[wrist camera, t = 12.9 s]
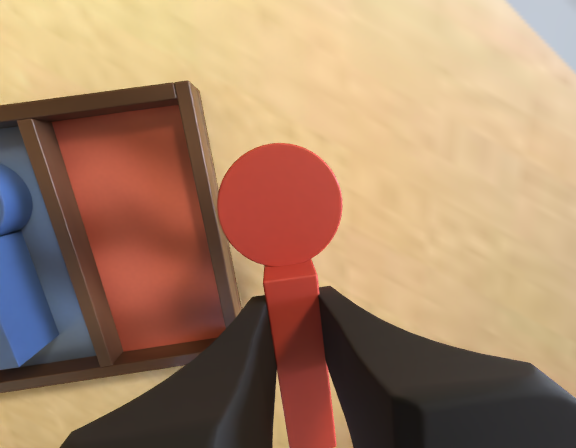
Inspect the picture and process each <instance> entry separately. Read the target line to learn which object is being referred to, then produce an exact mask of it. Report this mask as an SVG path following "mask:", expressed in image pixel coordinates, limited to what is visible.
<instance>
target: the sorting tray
mask: <svg viewBox="0 0 576 448" xmlns="http://www.w3.org/2000/svg"><path fill="white" fill-rule="evenodd" d="M0 164H3V165H5V166H7V167H8V168H10V169H12V170H13V171H14V172H16V173H17V174H18V175H19V176H20V177H21V178H22V179H23V181H24V182H25V183H26V185H27V187H28V188H29V191H30V193H31V196H32V202H33V209H32V214H31V217H30V219H29V221H28V222H27V224H26V225H25V226H24V227H23V228H21V229H20V230H18V231H22V234H23V237H24V240H25V242H26V245H27V248H28V250H29V253H30V256H31V259H32V261H33V264H34V267H35V269H36V272H37V275H38V277H39V280H40V283H41V286H42V288H43V291H44V294H45V296H46V299H47V302H48V305H49V307H50V310H51V313H52V315H53V318H54V321H55V324H56V326H57V329H58V332H59V335H58V336H57V337H56V338H55V339H53V340H52V341H51V342H50V343H48V344H47V345H46V346H45V347H43V348H42V349H41V350H40V351H38V352H37V353H36V354H35V355H34V356H32V357H31V358H30V359H29V360H27V361H26V362H25V363H24V364H22V365H21V366H20V367H16V368H10V369H3V370H0V393H5V392H11V391H18V390H24V389H31V388H38V387H44V386H51V385H57V384H64V383H70V382H77V381H84V380H90V379H97V378H103V377H110V376H117V375H123V374H130V373H136V372H143V371H150V370H156V369H163V368H169V367H176V366H183V365H187V364H188V363H189V362H191V361H192V360H193V359H194V358H196V357H197V356H198V355H199V354H200V353H201V352H203V351H204V350H205V349H206V348H207V347H208V346H209V345H210V344H212V343H213V342H214V341H215V340H216V339H217V338H218V337H219V336H220V334H221V333H222V332H223V331H224V330H225V329H226V328H227V327H228V326H229V325H230V324H231V323H232V321H233V320H234V319H235V318H236V317H237V315H238V314H239V313H240V312H241V310H242V309H241V304H240V299H239V294H238V289H237V283H236V278H235V273H234V268H233V263H232V258H231V252H230V247H229V242H228V239H227V238H226V236H225V234H224V232H223V230H222V227H221V225H220V221H219V218H218V210H217V199H218V193H219V190H218V185H217V180H216V175H215V169H214V164H213V159H212V154H211V149H210V143H209V138H208V133H207V128H206V123H205V117H204V112H203V107H202V102H201V97H200V92H199V90H198V89H197V88H196V87H195V86H194V85H193V84H192V83H190V82H189V81H181V82H175V83H165V84H158V85H150V86H143V87H135V88H128V89H120V90H113V91H105V92H97V93H90V94H82V95H75V96H67V97H60V98H52V99H45V100H37V101H30V102H22V103H15V104H7V105H0Z"/></svg>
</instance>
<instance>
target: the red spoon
mask: <svg viewBox="0 0 576 448" xmlns="http://www.w3.org/2000/svg"><path fill="white" fill-rule="evenodd" d="M217 210H218V218H219V221H220V225H221V227H222V230H223V232H224V234H225V236H226V238H227V239H228V240H229V242H230V243H231V244H232V246H233V247H234V248H235V249H236V250H237V251H238V252H240V253H241V254H242V255H243V256H245V257H247V258H248V259H250V260H252V261H254V262H256V263H259V264H263V265H265V267H264V278H263V286H264V292H265V299H266V303H267V309H268V316H269V322H270V328H271V334H272V340H273V347H274V353H275V359H276V365H277V373H278V379H279V385H280V392H281V398H282V404H283V410H284V416H285V422H286V429H287V435H288V441H289V447H290V448H333V447H336V436H335V427H334V418H333V409H332V400H331V391H330V383H329V374H328V367H327V364H326V361H325V352H324V343H323V334H322V325H321V316H320V308H319V299H318V295H319V294H320V293H319V285H318V276H317V273H316V270H315V268H314V265H313V263H312V260H311V258H313V257H314V256H316V255H317V254H319V253H320V252H321V251H322V250H323V249H324V248H325V247H326V246H327V245H328V244H329V243H330V241H331V240H332V238H333V237H334V235H335V233H336V231H337V229H338V226H339V224H340V220H341V216H342V195H341V190H340V187H339V183H338V181H337V179H336V177H335V175H334V173H333V172H332V170H331V169H330V167H329V166H328V165H327V164H326V163H325V162H324V161H323V160H322V159H321V158H320V157H319V156H317V155H316V154H315V153H313V152H311V151H309V150H307V149H306V148H303V147H300V146H297V145H293V144H286V143H273V144H267V145H263V146H260V147H257V148H254V149H252V150H250V151H248V152H247V153H245V154H244V155H242V156H241V157H240V158H239V159H238V160H237V161H235V162H234V163H233V165H232V166H231V167H230V168H229V170H228V171H227V173H226V174H225V176H224V178H223V180H222V183H221V185H220V189H219V193H218V199H217Z"/></svg>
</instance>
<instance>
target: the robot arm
mask: <svg viewBox="0 0 576 448" xmlns="http://www.w3.org/2000/svg"><path fill="white" fill-rule="evenodd" d="M319 293H320V294H319V295H318V299H319V308H320V316H321V325H322V334H323V343H324V352H325V361H326V364H327V367H328V370H329V373H330V375H331V378H332V381H333V384H334V387H335V390H336V393H337V396H338V398H339V401H340V404H341V407H342V410H343V413H344V416H345V419H346V422H347V425H348V428H349V432H350V435H351V439H352V443H353V447H354V448H576V398H575V397H573V396H572V395H571V394H569V393H568V392H567V391H566V390H564V389H563V388H562V387H561V386H559V385H558V384H557V383H555V382H554V381H553V380H552V379H550V378H549V377H548V376H546V375H545V374H544V373H543V372H541V371H540V370H539V369H538V368H536V367H535V366H534V365H532V364H531V363H528V362H522V361H517V360H512V359H507V358H501V357H496V356H491V355H485V354H480V353H476V352H472V351H468V350H464V349H460V348H456V347H453V346H449V345H446V344H442V343H439V342H436V341H433V340H430V339H427V338H424V337H421V336H418V335H415V334H413V333H410V332H408V331H405V330H403V329H401V328H398V327H396V326H394V325H392V324H390V323H387V322H385V321H383V320H381V319H380V318H378V317H376V316H374V315H372V314H371V313H369V312H367V311H365V310H364V309H362V308H361V307H359V306H357V305H356V304H354V303H353V302H352V301H350V300H349V299H347V298H346V297H344V296H343V295H342V294H340V293H339V292H338V291H336V290H335V289H334V288H332V287H331V286H326V287H319ZM276 372H277V365H276V359H275V353H274V347H273V340H272V334H271V328H270V322H269V316H268V309H267V303H266V299H265V295H263V296H256V297H252V298H251V299H250V300H249V302H248V303H247V304H246V305H245V307H244V308H243V309H242V310H241V312H240V313H239V314H238V315H237V317H236V318H235V319H234V320H233V321H232V323H231V324H230V325H229V326H228V327H227V328H226V329H225V330H224V331H223V332H222V333H221V334H220V336H219V337H218V338H217V339H216V340H215V341H214V342H213V343H212V344H210V345H209V346H208V347H207V348H206V349H205V350H204V351H203V352H201V353H200V354H199V355H198V356H197V357H196V358H194V359H193V360H192V361H191V362H189V363H188V364H187V365H185V366H184V367H183V368H181V369H180V370H178V371H177V372H176V373H174V374H173V375H172V376H170V377H169V378H167V379H166V380H165V381H163V382H162V383H160V384H158V385H157V386H155V387H154V388H152V389H151V390H149V391H147V392H146V393H144V394H142V395H141V396H139V397H137V398H136V399H134V400H132V401H131V402H129V403H127V404H125V405H123V406H122V407H120V408H118V409H116V410H114V411H112V412H110V413H108V414H106V415H104V416H102V417H101V418H99V419H97V420H95V421H93V422H91V423H89V424H87V425H85V426H83V427H81V428H79V429H77V430H75V431H73V432H71V434H70V435H69V436H68V437H67V439H66V440H65V441H64V443H63V444H62V445H61V447H60V448H272V438H273V418H274V403H275V388H276Z"/></svg>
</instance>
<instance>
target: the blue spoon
mask: <svg viewBox="0 0 576 448" xmlns="http://www.w3.org/2000/svg"><path fill="white" fill-rule="evenodd" d="M32 209H33V202H32V196H31V193H30V191H29V188H28V187H27V185H26V183H25V182H24V181H23V179H22V178H21V177H20V176H19V175H18V174H17V173H16V172H14V171H13V170H12V169H10V168H8V167H7V166H5V165H3V164H0V370H3V369H10V368H16V367H20V366H21V365H22V364H24V363H25V362H26V361H27V360H29V359H30V358H31V357H32V356H34V355H35V354H36V353H37V352H38V351H40V350H41V349H42V348H43V347H45V346H46V345H47V344H48V343H50V342H51V341H52V340H53V339H55V338H56V337H57V336H58V335H59V332H58V329H57V326H56V324H55V321H54V318H53V315H52V313H51V310H50V307H49V305H48V302H47V299H46V296H45V294H44V291H43V288H42V286H41V283H40V280H39V277H38V275H37V272H36V269H35V267H34V264H33V261H32V259H31V256H30V253H29V250H28V248H27V245H26V242H25V240H24V237H23V234H22V231H18V230H20V229H21V228H23V227H24V226H25V225H26V224H27V222H28V221H29V219H30V217H31V214H32Z"/></svg>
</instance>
